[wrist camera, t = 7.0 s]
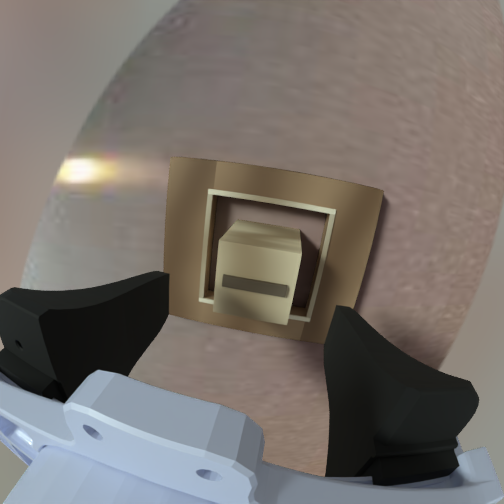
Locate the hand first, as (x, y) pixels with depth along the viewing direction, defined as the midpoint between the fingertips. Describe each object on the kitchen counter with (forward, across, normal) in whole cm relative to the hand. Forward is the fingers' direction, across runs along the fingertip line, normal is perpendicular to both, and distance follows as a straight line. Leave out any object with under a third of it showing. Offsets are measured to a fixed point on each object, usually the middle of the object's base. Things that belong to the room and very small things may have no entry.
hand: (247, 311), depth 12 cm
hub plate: (+8, 0, 0) cm, 8 cm away
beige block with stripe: (+8, 0, 0) cm, 8 cm away
